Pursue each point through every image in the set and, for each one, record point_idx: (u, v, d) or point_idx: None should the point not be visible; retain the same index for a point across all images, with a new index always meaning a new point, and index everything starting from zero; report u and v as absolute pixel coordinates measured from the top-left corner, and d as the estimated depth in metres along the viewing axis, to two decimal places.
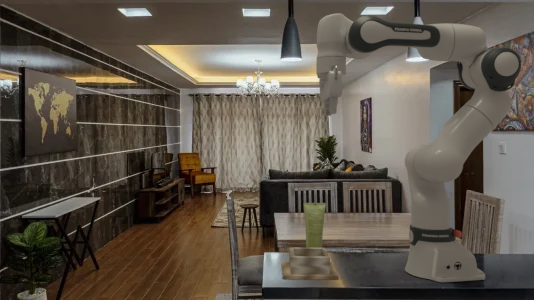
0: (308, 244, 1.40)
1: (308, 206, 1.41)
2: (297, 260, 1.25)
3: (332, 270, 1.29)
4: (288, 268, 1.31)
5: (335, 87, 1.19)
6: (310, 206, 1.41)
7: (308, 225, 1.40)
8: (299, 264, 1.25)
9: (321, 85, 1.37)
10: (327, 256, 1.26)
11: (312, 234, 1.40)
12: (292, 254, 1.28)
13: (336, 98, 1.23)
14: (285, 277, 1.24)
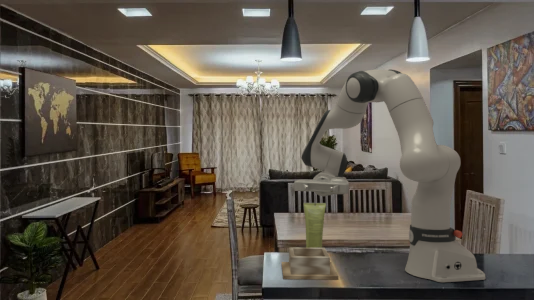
0: (308, 244, 1.40)
1: (308, 206, 1.41)
2: (297, 260, 1.25)
3: (332, 270, 1.29)
4: (288, 268, 1.31)
5: None
6: (310, 206, 1.41)
7: (308, 225, 1.40)
8: (299, 264, 1.25)
9: None
10: (327, 256, 1.26)
11: (312, 234, 1.40)
12: (292, 254, 1.28)
13: None
14: (285, 277, 1.24)
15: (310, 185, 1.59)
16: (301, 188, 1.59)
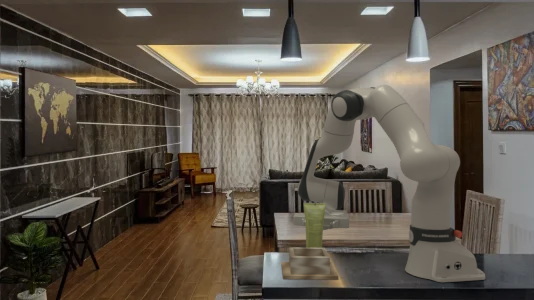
0: (308, 244, 1.40)
1: (308, 206, 1.41)
2: (297, 260, 1.25)
3: (332, 270, 1.29)
4: (288, 268, 1.31)
5: None
6: (310, 206, 1.41)
7: (308, 225, 1.40)
8: (299, 264, 1.25)
9: None
10: (327, 256, 1.26)
11: (312, 234, 1.40)
12: (292, 254, 1.28)
13: None
14: (285, 277, 1.24)
15: None
16: (300, 223, 1.55)
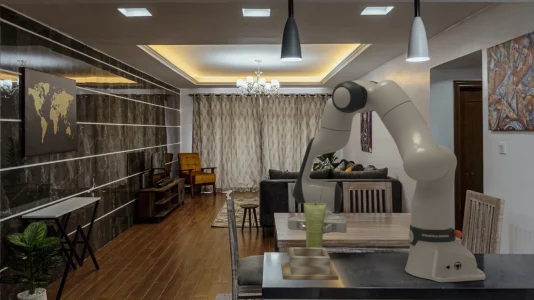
0: (308, 243, 1.40)
1: (309, 206, 1.41)
2: (297, 260, 1.25)
3: (332, 270, 1.29)
4: (288, 268, 1.31)
5: None
6: (310, 206, 1.41)
7: (308, 225, 1.40)
8: (299, 264, 1.25)
9: None
10: (327, 256, 1.26)
11: (313, 234, 1.40)
12: (292, 254, 1.28)
13: None
14: (285, 277, 1.24)
15: None
16: (295, 227, 1.47)
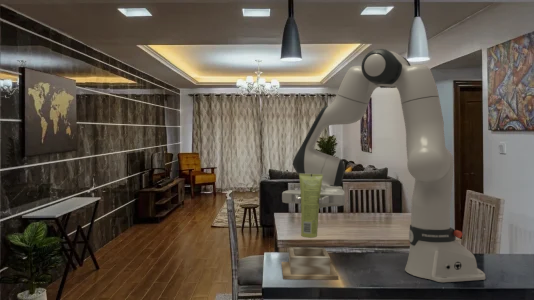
0: (303, 217, 1.31)
1: (304, 177, 1.32)
2: (297, 260, 1.25)
3: (332, 270, 1.29)
4: (288, 268, 1.31)
5: None
6: (306, 177, 1.32)
7: (304, 197, 1.31)
8: (299, 264, 1.25)
9: None
10: (327, 256, 1.26)
11: (308, 207, 1.30)
12: (292, 254, 1.28)
13: None
14: (285, 277, 1.24)
15: (300, 196, 1.37)
16: (290, 200, 1.38)
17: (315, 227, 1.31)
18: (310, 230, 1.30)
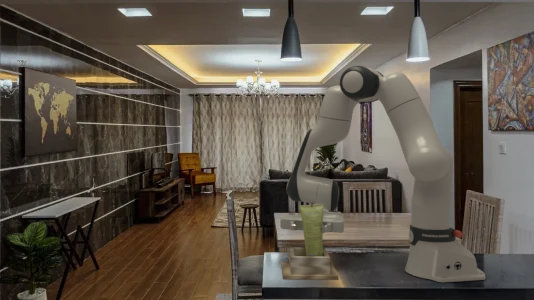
0: (308, 249, 1.29)
1: (304, 208, 1.30)
2: (297, 260, 1.25)
3: (332, 270, 1.29)
4: (288, 268, 1.31)
5: None
6: (306, 208, 1.30)
7: (306, 229, 1.29)
8: (299, 264, 1.25)
9: None
10: (327, 256, 1.26)
11: (312, 239, 1.28)
12: (292, 254, 1.28)
13: None
14: (285, 277, 1.24)
15: (299, 223, 1.36)
16: (288, 226, 1.36)
17: None
18: None
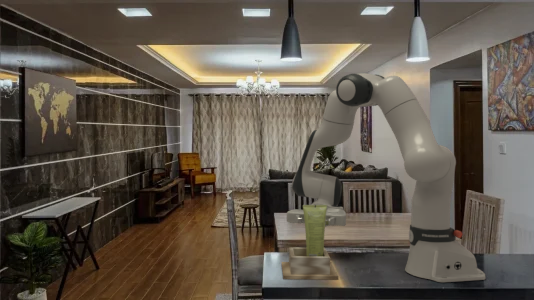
0: (309, 249, 1.29)
1: (308, 208, 1.30)
2: (297, 260, 1.25)
3: (332, 270, 1.29)
4: (288, 268, 1.31)
5: None
6: (310, 208, 1.30)
7: (308, 229, 1.29)
8: (299, 264, 1.25)
9: None
10: (327, 256, 1.26)
11: (313, 239, 1.29)
12: (292, 254, 1.28)
13: None
14: (285, 277, 1.24)
15: None
16: (294, 220, 1.46)
17: None
18: None
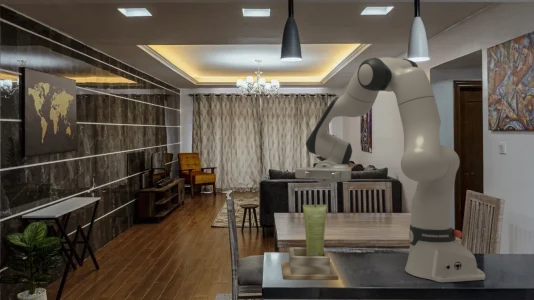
0: (309, 249, 1.29)
1: (308, 208, 1.30)
2: (297, 260, 1.25)
3: (332, 270, 1.29)
4: (288, 268, 1.31)
5: None
6: (310, 208, 1.30)
7: (308, 229, 1.29)
8: (299, 264, 1.25)
9: None
10: (327, 256, 1.26)
11: (313, 239, 1.29)
12: (292, 254, 1.28)
13: None
14: (285, 277, 1.24)
15: (311, 172, 1.55)
16: (302, 175, 1.56)
17: None
18: None
